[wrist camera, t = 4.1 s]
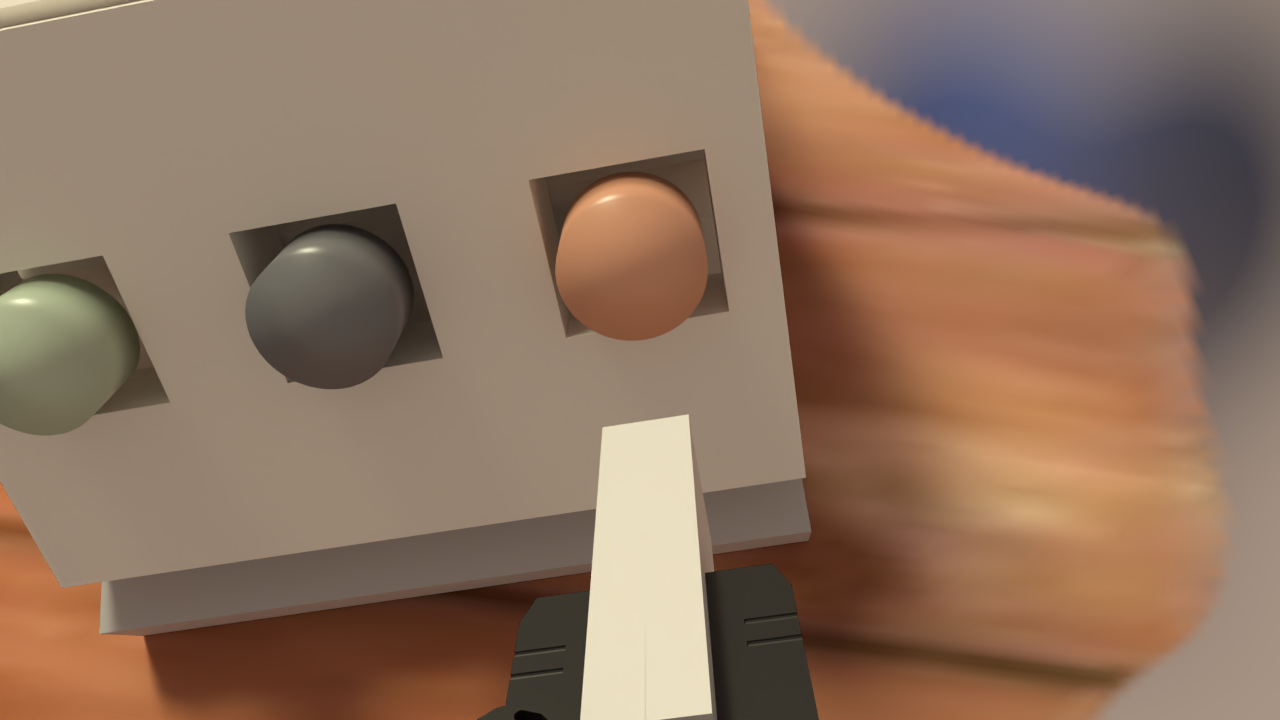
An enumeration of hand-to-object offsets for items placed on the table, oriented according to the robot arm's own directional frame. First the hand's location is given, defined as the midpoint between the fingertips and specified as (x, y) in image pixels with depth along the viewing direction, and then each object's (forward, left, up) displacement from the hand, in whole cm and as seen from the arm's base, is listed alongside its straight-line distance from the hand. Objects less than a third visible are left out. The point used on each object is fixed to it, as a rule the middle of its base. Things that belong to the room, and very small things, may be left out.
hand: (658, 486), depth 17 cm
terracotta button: (-1, +8, -10) cm, 12 cm away
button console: (-9, +10, -18) cm, 23 cm away
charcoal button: (-9, +8, -10) cm, 15 cm away
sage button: (-18, +8, -10) cm, 21 cm away
